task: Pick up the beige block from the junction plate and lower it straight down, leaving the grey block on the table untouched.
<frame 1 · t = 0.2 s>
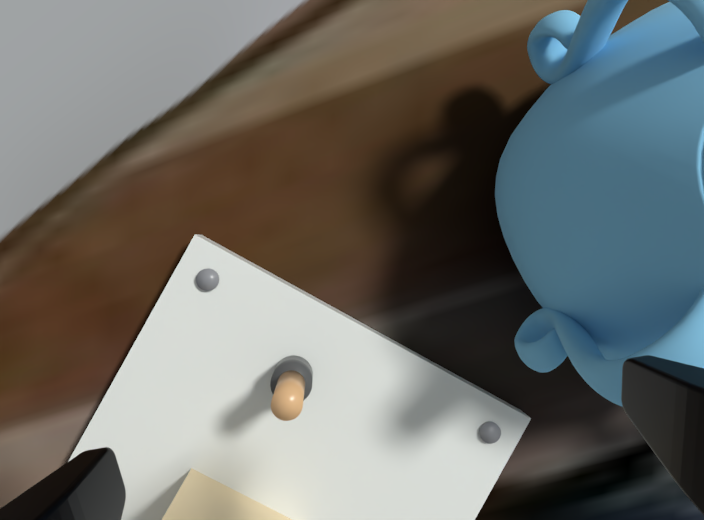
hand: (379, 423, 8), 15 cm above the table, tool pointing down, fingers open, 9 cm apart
junction plate: (290, 458, 24), on the table
decorative pot: (629, 210, 25), on the table
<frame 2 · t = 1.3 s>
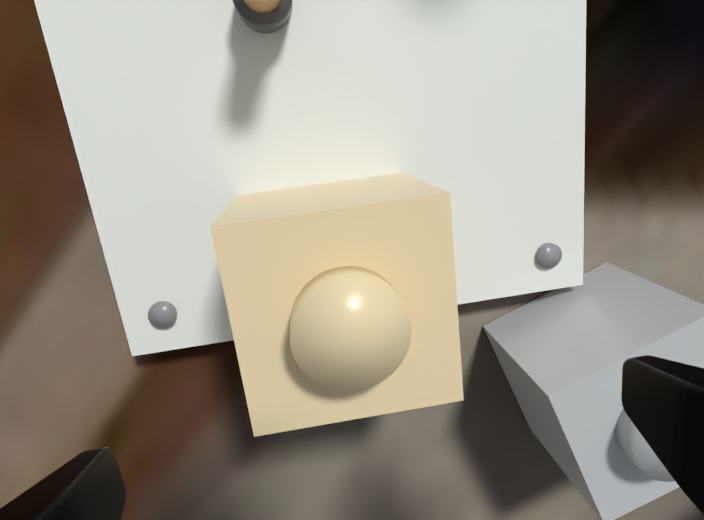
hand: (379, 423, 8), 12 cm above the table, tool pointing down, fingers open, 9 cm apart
junction plate: (338, 122, 18), on the table
beige block: (331, 262, 18), point 1 cm above the table, touching junction plate
grey block: (566, 349, 22), on the table
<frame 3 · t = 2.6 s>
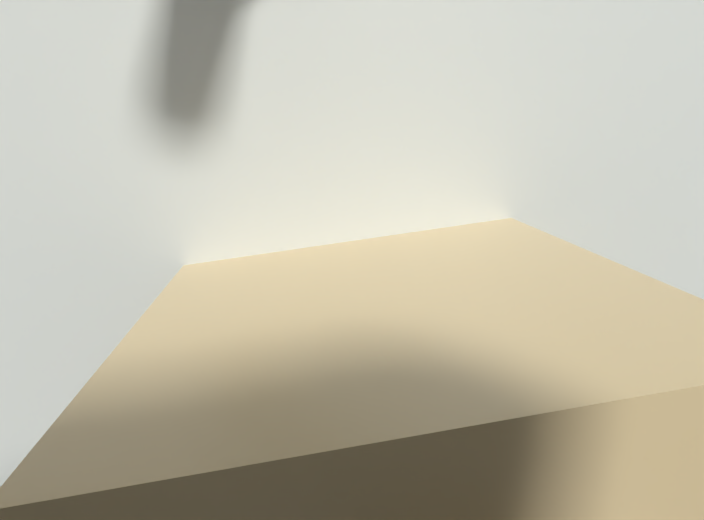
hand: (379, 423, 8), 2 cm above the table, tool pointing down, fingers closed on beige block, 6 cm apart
junction plate: (382, 120, 9), on the table
beige block: (369, 387, 10), point 1 cm above the table, touching gripper, junction plate
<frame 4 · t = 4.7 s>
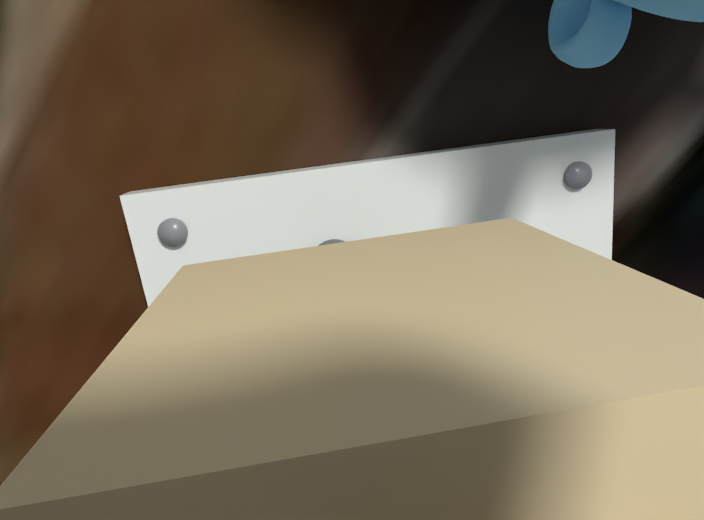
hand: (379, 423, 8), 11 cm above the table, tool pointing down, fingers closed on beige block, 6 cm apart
junction plate: (391, 337, 21), on the table
beige block: (369, 387, 10), point 10 cm above the table, touching gripper
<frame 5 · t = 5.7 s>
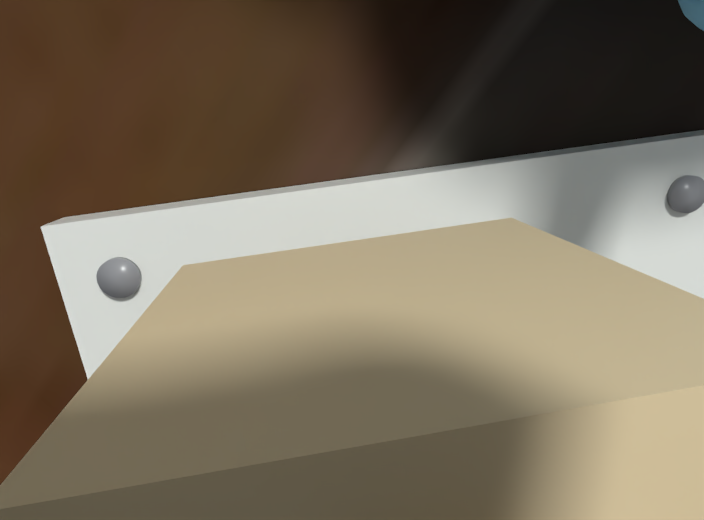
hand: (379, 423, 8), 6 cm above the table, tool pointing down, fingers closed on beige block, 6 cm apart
junction plate: (422, 407, 15), on the table
beige block: (369, 387, 10), point 5 cm above the table, touching gripper
when the fingers open (4 cm above the table, at t = 6.7 s): beige block drops 1 cm, resting on junction plate.
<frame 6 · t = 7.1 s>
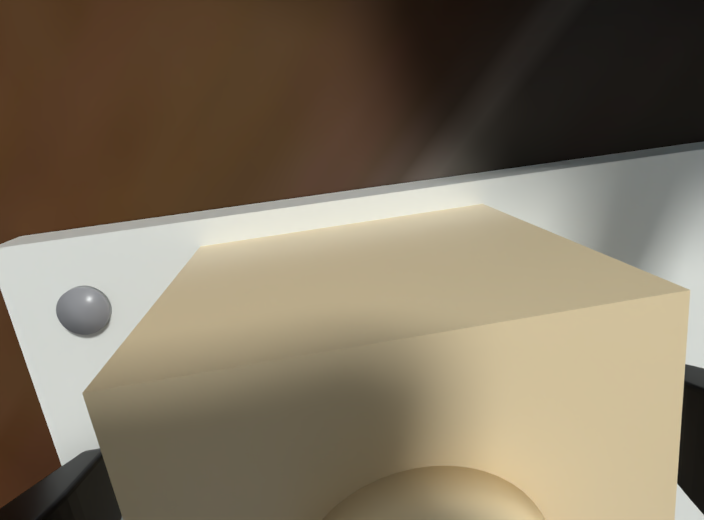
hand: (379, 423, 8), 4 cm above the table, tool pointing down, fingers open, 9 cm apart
junction plate: (442, 451, 13), on the table
beige block: (362, 353, 11), point 1 cm above the table, touching junction plate
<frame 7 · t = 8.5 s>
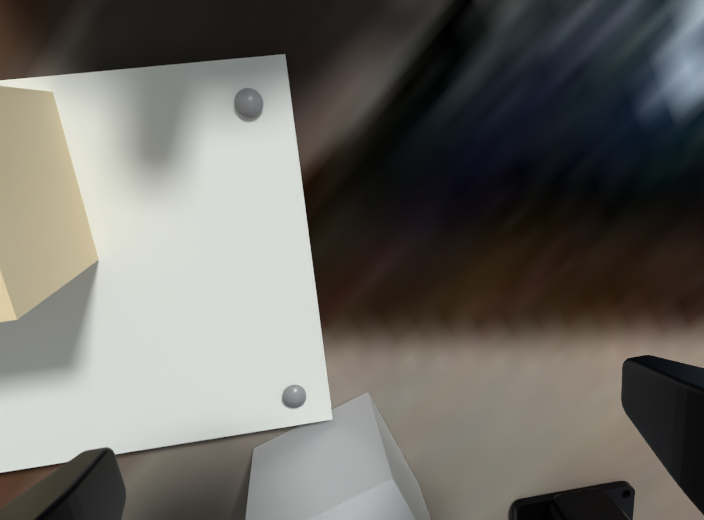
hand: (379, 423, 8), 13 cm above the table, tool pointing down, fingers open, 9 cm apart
junction plate: (88, 278, 20), on the table
grey block: (338, 466, 24), on the table
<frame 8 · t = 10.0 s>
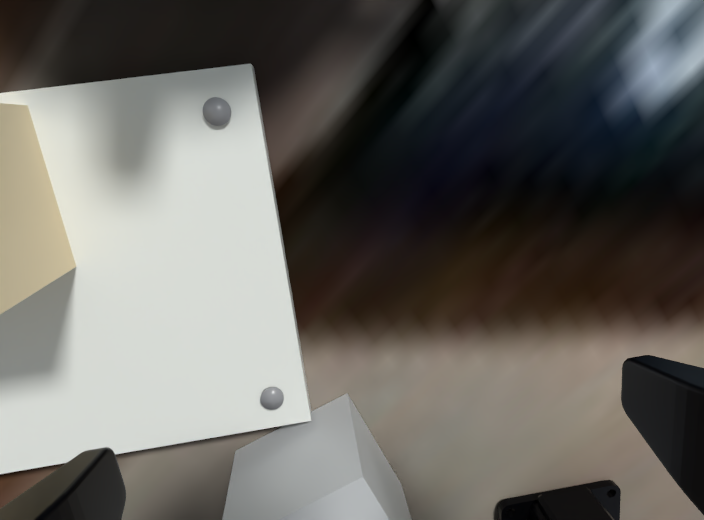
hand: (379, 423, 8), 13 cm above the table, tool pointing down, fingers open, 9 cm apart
junction plate: (69, 285, 20), on the table
grey block: (321, 467, 24), on the table
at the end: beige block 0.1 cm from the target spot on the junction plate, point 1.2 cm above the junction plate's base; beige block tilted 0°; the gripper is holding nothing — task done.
